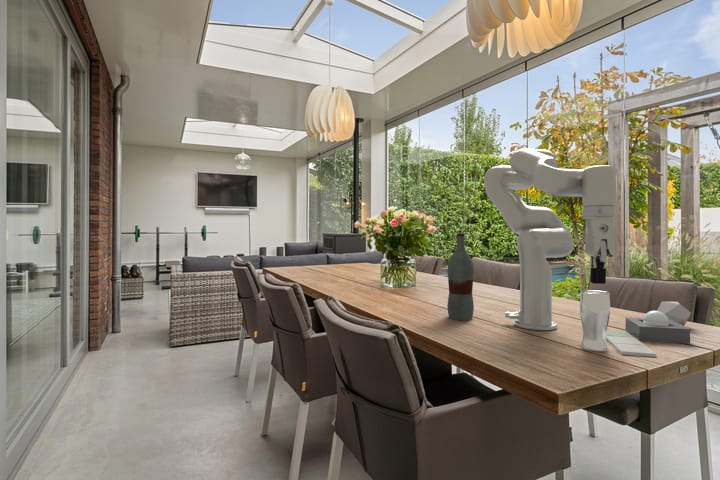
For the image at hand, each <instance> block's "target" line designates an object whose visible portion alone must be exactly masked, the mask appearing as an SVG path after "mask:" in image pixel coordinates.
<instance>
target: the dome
mask: <svg viewBox="0 0 720 480" xmlns="http://www.w3.org/2000/svg"><path fill="white" fill-rule="evenodd" d="M643 318H644V319H643V323H644V324H646V325H658V326H669V320H668V317H667V316H666V315H665V314H664V313H662V312H660V311H657V310H650V311H647V312H646V313H645V314H644V316H643Z"/></svg>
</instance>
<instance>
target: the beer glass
mask: <svg viewBox="0 0 720 480" xmlns="http://www.w3.org/2000/svg"><path fill="white" fill-rule="evenodd" d="M610 299H611V298H610V291H609V292H608V291H604V290H593V289H584V290H580V297H579V314H580V315H579V316H580V321H581V322H580V323H581V328H582V340H581V344H580V345H581V346H580V347H581V349H583V350H585V351H590V352H595V353H598V352H599V353H600V352H601V353H602V352H603V353H605V352H607V351H608V350H609V349H608V341H607V340H606V332H607V330H608V327H609V321H610V315H611V300H610Z"/></svg>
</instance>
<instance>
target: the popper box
mask: <svg viewBox="0 0 720 480" xmlns="http://www.w3.org/2000/svg"><path fill="white" fill-rule="evenodd" d="M643 319H644V317H628V316H627V317H625V329H624V331H626V332H628V333H629V334H630V335H632V336H633V337H634V338H636V339H637V340H639V341H640V342H642V341H644V342H658V343H659V342H660V343H675V344H689V345H690V344H691V328H689V327H687V326H686V325H685V326H683V325H681V324H679V323H677V322H675V321H673V320H669V326H658V325H646V324H644V323H643Z"/></svg>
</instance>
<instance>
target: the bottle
mask: <svg viewBox="0 0 720 480" xmlns="http://www.w3.org/2000/svg"><path fill="white" fill-rule="evenodd" d="M453 252H454V253H453V254H452V256H451V257H450V258H449V260H448V264H447V271H446V272H447V280H448V299H447V306H446V307H447V314H448V318H449V319H451V320H456V321H471V320H472V319H473V315H474V311H475V305H474V297H473V285H474V276H475V268H474V263H473V260H472V258H471V257H470V255H469V253H468V252H467V251H466V248H465V233H461V232H460V233H459V232H457V233H456V249H455V250H454V251H453Z"/></svg>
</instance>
